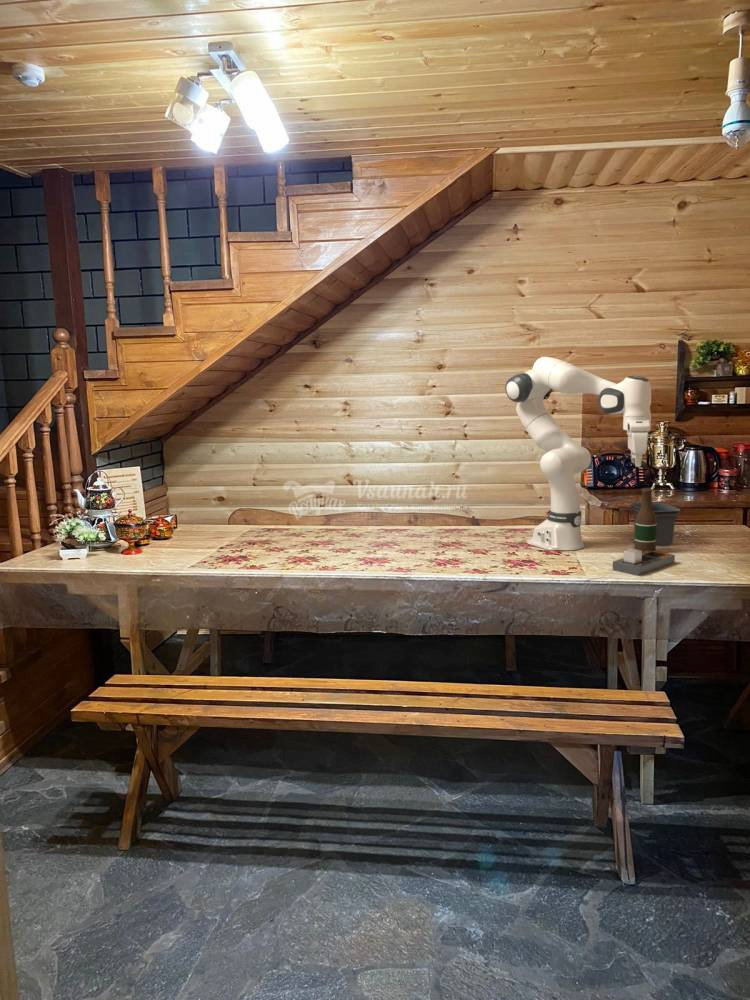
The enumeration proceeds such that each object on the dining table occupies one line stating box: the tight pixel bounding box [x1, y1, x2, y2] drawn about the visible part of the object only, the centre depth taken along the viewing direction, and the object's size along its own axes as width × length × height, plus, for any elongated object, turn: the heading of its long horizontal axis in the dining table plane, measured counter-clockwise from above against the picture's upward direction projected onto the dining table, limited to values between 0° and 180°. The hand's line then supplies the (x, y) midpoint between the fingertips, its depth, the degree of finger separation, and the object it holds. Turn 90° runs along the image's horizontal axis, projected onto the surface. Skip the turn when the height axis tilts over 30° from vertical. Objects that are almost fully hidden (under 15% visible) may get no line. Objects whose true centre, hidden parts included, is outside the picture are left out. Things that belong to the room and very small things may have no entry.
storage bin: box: [629, 501, 681, 547], centre depth 289 cm, size 21×16×14 cm
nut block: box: [623, 548, 642, 565], centre depth 249 cm, size 4×4×7 cm
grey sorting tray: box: [612, 550, 676, 577], centre depth 253 cm, size 10×22×4 cm, turn 128°
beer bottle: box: [633, 487, 657, 552], centre depth 273 cm, size 8×8×24 cm
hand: (636, 464), depth 250 cm, fingers open, 8 cm apart
